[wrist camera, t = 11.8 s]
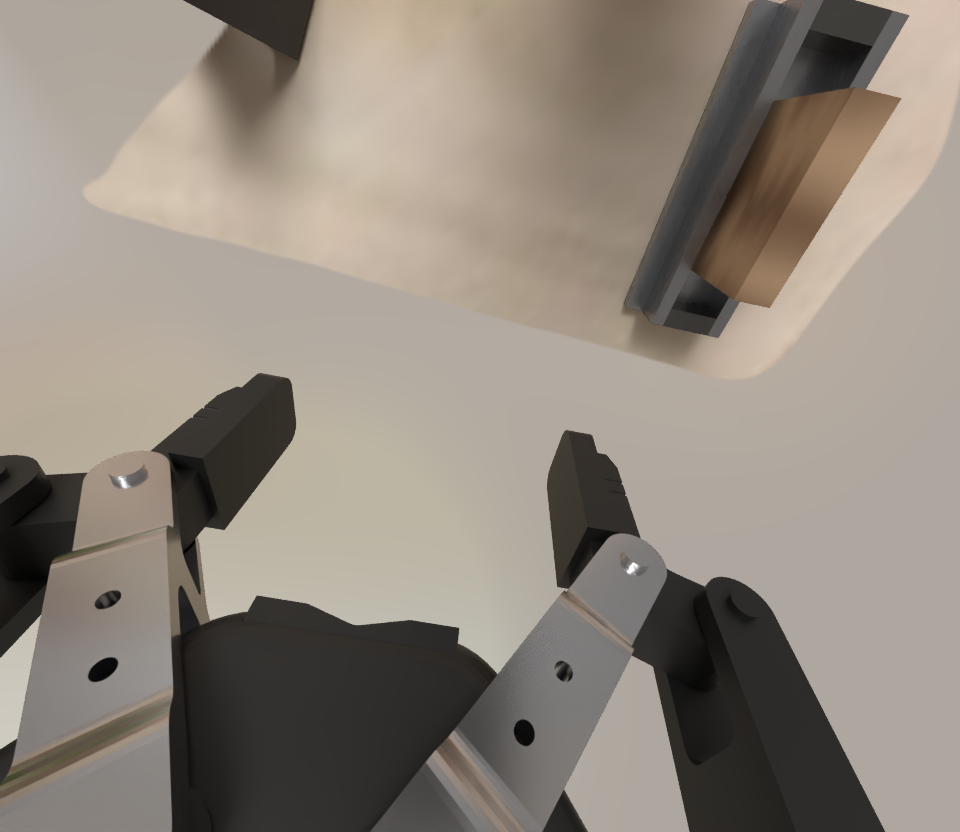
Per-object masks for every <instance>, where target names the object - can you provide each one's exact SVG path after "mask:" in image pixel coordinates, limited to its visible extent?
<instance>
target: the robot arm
mask: <svg viewBox="0 0 960 832" xmlns="http://www.w3.org/2000/svg"><path fill="white" fill-rule="evenodd" d="M295 429H296V417H295V409H294V400H293V392H292V384H291V382H290V380H289V379H288V378H284V377H279V376H273V375H268V374H263V373H259V374H257V375H256V376H255V377H253V378H252V379H251V380H250V381H249V382H248V383H247V384H245V385H244V386H243V387H242V388H241V387H235V388H233V389H231V390H228V391H226V392H224V393H221V394H219V395H217V396H216V397H215V398H214V399H213V400H212V401H210V402H209V403H208V404H206V405H205V407H204V409H203V408H202V409H200V410H199V411H198V412H197V413H196V414H194V416H193V418H190V419H188V420H187V421H186V422H185V423H184V424H182V425H181V426H180V427H179V428H178V429H176V430H175V431H174V432H173V433H172V434H170V435H169V436H168V437H167V438H166V439H164V440H163V441H162V442H161V443H160V444H158V445H157V446H156V447H155V448H154V449H152V450H151V451H135V452H129V453H124V454H121V455H117V456H114V457H112V458H109V459H107V460H105V461H103V462H101V463H100V464H98V465H96V466H95V467H94V468H93V469H91V470H90V471H89V472H88V473H74V474H57V475H56V474H55V475H45V473H44V472H43V470H42V468H41V467H40V465H39V464H38V462H37V461H36V460H34V459H33V458H30V457H27V456H19V455H7V456H0V657H2V656H3V654H4V653H5V652H6V651H7V650H8V649H9V648H10V647H11V646H12V645H13V644H14V643H15V642H16V641H17V640H18V638H19V637H20V636H21V635H22V634H23V633H24V632H25V631H26V630H27V629H28V628H29V627H30V626H31V625H32V624H33V623H34V622H35V620H36V619H37V618H38V617H39V616H40V615H41V618H40V624H39V628H38V634H37V639H36V644H35V650H34V655H33V660H32V665H31V670H30V676H29V681H28V686H27V691H26V696H25V701H24V707H23V712H22V717H21V722H20V728H19V733H18V738H17V739H16V740H14V741H13V742H11V743H9V744H8V745H6V746H5V747H3V748H2V749H0V832H588V831H587V829H586V828H585V826H584V824H583V822H582V820H581V819H580V817H579V815H578V813H577V812H576V810H575V808H574V806H573V804H572V803H571V801H570V799H569V797H568V796H567V794H566V792H565V790H564V788H565V786H566V784H567V782H568V780H569V778H570V776H571V774H572V772H573V770H574V768H575V766H576V764H577V762H578V760H579V758H580V756H581V754H582V752H583V750H584V749H585V747H586V745H587V743H588V741H589V739H590V737H591V735H592V733H593V731H594V729H595V727H596V725H597V723H598V721H599V719H600V717H601V715H602V713H603V711H604V709H605V707H606V705H607V703H608V701H609V699H610V697H611V695H612V693H613V691H614V689H615V688H616V685H617V683H618V682H619V680H620V678H621V676H622V673H623V672H624V670H625V668H626V666H627V664H628V662H629V660H630V658H631V656H634V657H636V658H638V659H640V660H642V661H644V662H646V663H648V664H650V665H651V666H653V668H654V673H655V677H656V682H657V686H658V691H659V695H660V700H661V704H662V709H663V714H664V718H665V722H666V727H667V731H668V736H669V741H670V745H671V750H672V754H673V759H674V763H675V768H676V772H677V776H678V781H679V786H680V790H681V795H682V799H683V804H684V808H685V813H686V817H687V822H688V826H689V831H690V832H885V831H884V829H883V827H882V825H881V823H880V821H879V819H878V817H877V815H876V813H875V811H874V809H873V807H872V805H871V803H870V801H869V799H868V798H867V795H866V793H865V791H864V790H863V788H862V785H861V784H860V782H859V780H858V778H857V776H856V774H855V772H854V770H853V768H852V766H851V764H850V762H849V760H848V758H847V756H846V754H845V752H844V750H843V748H842V746H841V744H840V742H839V741H838V739H837V737H836V735H835V733H834V731H833V729H832V727H831V725H830V723H829V721H828V719H827V717H826V715H825V713H824V711H823V709H822V707H821V705H820V703H819V701H818V699H817V697H816V695H815V694H814V692H813V690H812V688H811V686H810V684H809V682H808V680H807V678H806V676H805V674H804V672H803V670H802V668H801V666H800V664H799V662H798V660H797V658H796V656H795V654H794V652H793V650H792V649H791V647H790V645H789V643H788V641H787V639H786V637H785V635H784V633H783V631H782V629H781V627H780V625H779V623H778V621H777V619H776V617H775V615H774V614H773V612H772V610H771V609H770V607H769V606H768V605H767V603H766V602H765V601H764V600H763V599H762V598H761V597H760V596H759V595H758V594H757V593H756V592H755V591H753V590H752V589H751V588H749V587H748V586H746V585H745V584H743V583H741V582H739V581H736V580H734V579H731V578H727V577H716V578H713V579H711V580H710V581H709V582H708V584H707V585H706V586H705V587H704V586H702V585H700V584H697V583H695V582H693V581H691V580H689V579H686V578H684V577H682V576H680V575H678V574H675V573H673V572H672V571H670V570H668V569H666V565H665V563H664V561H663V559H662V557H661V556H660V555H659V553H658V552H657V551H656V550H655V549H654V548H653V547H652V546H651V545H649V544H648V543H647V542H646V541H644V540H642V539H641V538H640V535H639V532H638V529H637V526H636V523H635V520H634V517H633V514H632V511H631V508H630V505H629V502H628V499H627V496H625V494H626V493H625V490H624V487H623V485H622V481H621V478H620V475H619V472H618V469H617V467H616V466H615V465H614V463H613V462H612V461H611V460H610V459H609V457H608V456H607V455H605V454H599V453H597V450H596V447H595V444H594V440H593V437H592V435H590V434H584V433H579V432H574V431H568V430H566V431H565V432H564V433H563V435H562V438H561V440H560V443H559V446H558V448H557V451H556V454H555V456H554V459H553V462H552V464H551V467H550V471H549V474H548V482H547V491H548V501H549V511H550V521H551V530H552V539H553V549H554V559H555V569H556V578H557V587H561V588H567V589H568V591H567V592H565V591H564V592H563V593H562V594H561V595H560V596H559V597H558V598H557V599H556V601H555V602H554V603H553V604H552V606H551V607H550V608H549V610H548V611H547V612H546V614H545V615H544V616H543V617H542V619H541V620H540V621H539V622H538V624H537V625H536V626H535V628H534V629H533V630H532V631H531V633H530V634H529V635H528V636H527V638H526V639H525V640H524V642H523V643H522V644H521V645H520V647H519V648H518V649H517V651H516V652H515V653H514V654H513V656H512V657H511V658H510V659H509V661H508V662H507V663H506V665H505V666H504V667H503V668H502V670H501V671H500V672H499V673H498V675H497V673H496V672H495V671H494V670H493V669H492V668H491V667H490V666H489V665H488V664H487V663H486V662H485V661H484V660H483V659H482V658H481V657H479V656H478V655H477V654H476V653H474V652H472V651H471V650H469V649H468V648H466V647H464V646H462V645H460V644H458V635H459V628H456V627H450V626H443V625H437V624H431V623H425V622H419V621H412V620H407V621H398V622H388V623H378V624H369V625H352V624H350V623H347V622H345V621H343V620H341V619H339V618H337V617H335V616H333V615H330V614H328V613H325V612H324V611H322V610H320V609H318V608H316V607H313V606H311V605H309V604H306V603H299V602H294V601H287V600H281V599H275V598H269V597H263V596H256V598H255V600H254V601H253V603H252V605H251V607H250V608H249V610H248V612H242V613H237V614H232V615H227V616H224V617H221V618H218V619H215V620H212V621H210V619H209V615H208V611H207V605H206V598H205V590H204V581H203V572H202V563H201V554H200V546H199V541H198V538H197V536H198V535H199V533H200V532H201V531H202V530H203V529H204V527H209V528H215V529H221V530H225V528H226V527H227V526H228V525H229V523H230V522H231V521H232V519H233V518H234V517H235V515H236V514H237V513H238V511H239V510H240V509H241V507H242V506H243V505H244V503H245V502H246V501H247V500H248V498H249V497H250V496H251V494H252V493H253V492H254V490H255V489H256V488H257V486H258V485H259V484H260V482H261V481H262V480H263V478H264V477H265V476H266V474H267V473H268V472H269V470H270V469H271V468H272V467H273V465H274V464H275V463H276V461H277V460H278V459H279V457H280V456H281V455H282V453H283V452H284V451H285V449H286V448H287V447H288V445H289V444H290V443H291V441H292V439H293V437H294V434H295Z"/></svg>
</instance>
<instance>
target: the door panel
mask: <svg viewBox="0 0 960 832" xmlns="http://www.w3.org/2000/svg"><path fill="white" fill-rule="evenodd" d="M900 100H901V98H898V97H894V96H890V95H886V94H882V93H877V92H873V91H869V90H865V89H861V88H857V87H852V88H847V89H841V90H835V91H829V92H823V93H817V94H811V95H806V96H800V97H794V98H788V99H782V100H776V101H774V102H773V104H772V106H771V108H770V110H769V112H768V114H767V116H766V118H765V120H764V122H763V124H762V126H761V128H760V130H759V132H758V134H757V136H756V138H755V140H754V142H753V144H752V146H751V148H750V150H749V152H748V154H747V156H746V158H745V160H744V162H743V164H742V166H741V168H740V170H739V172H738V174H737V176H736V178H735V181H734V183H733V185H732V187H731V189H730V191H729V193H728V195H727V197H726V199H725V201H724V203H723V205H722V207H721V209H720V211H719V213H718V215H717V217H716V219H715V221H714V223H713V225H712V227H711V229H710V231H709V233H708V235H707V237H706V239H705V241H704V243H703V245H702V247H701V249H700V251H699V253H698V255H697V257H696V259H695V262H694V264H693V266H692V268H691V270H692V271H693V272H694V273H696V274H697V275H699V276H700V277H702V278H703V279H704V280H706V281H707V282H709V283H710V284H712V285H713V286H714V287H716V288H717V289H719V290H720V291H721V292H723V293H724V294H726V295H727V296H729V297H730V298H731V299H733V300H735V301H740V302H745V303H749V304H754V305H759V306H763V307H768V308H770V306H771V305H772V303H773V302H774V300H775V298H776V297H777V295H778V294H779V292H780V291H781V289H782V287H783V286H784V284H785V283H786V281H787V279H788V278H789V276H790V275H791V273H792V271H793V270H794V268H795V267H796V265H797V264H798V262H799V260H800V259H801V257H802V256H803V254H804V252H805V251H806V249H807V248H808V246H809V245H810V243H811V241H812V240H813V238H814V237H815V235H816V233H817V232H818V230H819V229H820V227H821V225H822V224H823V222H824V221H825V219H826V218H827V216H828V214H829V213H830V211H831V210H832V208H833V206H834V205H835V203H836V202H837V200H838V198H839V197H840V195H841V194H842V192H843V191H844V189H845V187H846V186H847V184H848V183H849V181H850V179H851V178H852V176H853V175H854V173H855V172H856V170H857V168H858V167H859V165H860V164H861V162H862V160H863V159H864V157H865V156H866V154H867V152H868V151H869V149H870V148H871V146H872V145H873V143H874V141H875V140H876V138H877V137H878V135H879V133H880V132H881V130H882V129H883V127H884V125H885V124H886V122H887V121H888V119H889V118H890V116H891V114H892V113H893V111H894V110H895V108H896V106H897V105H898V103H899V102H900Z"/></svg>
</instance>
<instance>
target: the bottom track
mask: <svg viewBox="0 0 960 832" xmlns="http://www.w3.org/2000/svg"><path fill="white" fill-rule="evenodd" d="M908 17H909V15H906V14H903V13H899V12H895V11H892V10H888V9H885V8H881V7H877V6H874V5H870V4H866V3H863V2H859V1H856V0H787V1H785V2H783V3H781V4H778V3H775V2H771V1H767V0H753V1H752V2H750V3H749V6H748V8H747V10H746V13H745V15H744V17H743V20H742V22H741V25H740V27H739V29H738V32H737V34H736V37H735V39H734V41H733V44H732V46H731V49H730V51H729V53H728V56H727V58H726V61H725V63H724V65H723V68H722V70H721V72H720V75H719V77H718V80H717V82H716V84H715V87H714V89H713V92H712V94H711V96H710V99H709V101H708V104H707V106H706V108H705V111H704V113H703V115H702V118H701V120H700V123H699V125H698V127H697V130H696V132H695V135H694V137H693V139H692V142H691V144H690V147H689V149H688V151H687V154H686V156H685V159H684V161H683V163H682V166H681V168H680V170H679V173H678V175H677V178H676V180H675V182H674V185H673V187H672V190H671V192H670V194H669V197H668V199H667V202H666V204H665V206H664V209H663V211H662V214H661V216H660V218H659V221H658V223H657V225H656V228H655V230H654V233H653V235H652V237H651V240H650V242H649V245H648V247H647V249H646V252H645V254H644V257H643V259H642V261H641V264H640V266H639V268H638V271H637V273H636V276H635V278H634V280H633V283H632V285H631V288H630V290H629V292H628V295H627V297H626V300H625V302H624V305H625V306H626V307H627V308H631V309H636V310H640V311H643V313H644V314H645V315H646V317H647V318H648V319H649V320H650V322H651V323H653V324H658V325H662V326H667V327H671V328H676V329H680V330H685V331H689V332H694V333H698V334H703V335H707V336H712V337H717V338H719V336H720V334H721V333H722V331H723V329H724V328H725V326H726V324H727V323H728V321H729V319H730V318H731V316H732V314H733V313H734V311H735V309H736V307H737V306H738V304H739V302H740V301H735V300H733V299H731V298H730V297H729V296H727V295H726V294H724V293H723V292H721V291H720V290H719V289H717V288H716V287H714V286H713V285H712V284H710V283H709V282H707V281H706V280H704V279H703V278H702V277H700V276H699V275H697V274H696V273H694V272H693V271H692V270H691V268H692V266H693V264H694V262H695V259H696V257H697V255H698V253H699V251H700V249H701V247H702V245H703V243H704V241H705V239H706V237H707V235H708V233H709V231H710V229H711V227H712V225H713V223H714V221H715V219H716V217H717V215H718V213H719V211H720V209H721V207H722V205H723V203H724V201H725V199H726V197H727V195H728V193H729V191H730V189H731V187H732V185H733V183H734V181H735V178H736V176H737V174H738V172H739V170H740V168H741V166H742V164H743V162H744V160H745V158H746V156H747V154H748V152H749V150H750V148H751V146H752V144H753V142H754V140H755V138H756V136H757V134H758V132H759V130H760V128H761V126H762V124H763V122H764V120H765V118H766V116H767V114H768V112H769V110H770V108H771V106H772V104H773V102H774V101H776V100H782V99H788V98H794V97H800V96H806V95H811V94H817V93H823V92H829V91H835V90H841V89H847V88H852V87H857V88H861V89H865V90H866V88H867V86H868V85H869V83H870V81H871V80H872V78H873V76H874V74H875V73H876V71H877V69H878V68H879V66H880V64H881V63H882V61H883V59H884V58H885V56H886V54H887V53H888V51H889V49H890V47H891V46H892V44H893V42H894V41H895V39H896V37H897V36H898V34H899V32H900V31H901V29H902V27H903V26H904V24H905V22H906V20H907V19H908Z"/></svg>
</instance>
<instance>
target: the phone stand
mask: <svg viewBox="0 0 960 832" xmlns="http://www.w3.org/2000/svg"><path fill="white" fill-rule="evenodd" d="M184 1H186V2H188V3H190V4H191V5H193V6H195V7H197V8H199V9H201V10H203V11H205V12H207V13H209V14H210V15H212V16H214V17H216V18H218V19H220V20H222V21H223V22H225V23H227V24H229V25H231V26H233V27H235V28H237V29H239V30H240V31H242V32H244V33H246V34H248V35H250V36H252V37H254V38H256V39H257V40H259V41H261V42H263V43H265V44H267V45H269V46H271V47H273V48H274V49H276V50H278V51H280V52H282V53H284V54H286V55H288V56H290V57H291V58H293V59H295V60H298V55H299V51H300V47H301V43H302V39H303V35H304V31H305V27H306V22H307V18H308V14H309V10H310V6H311V2H312V0H184Z"/></svg>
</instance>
